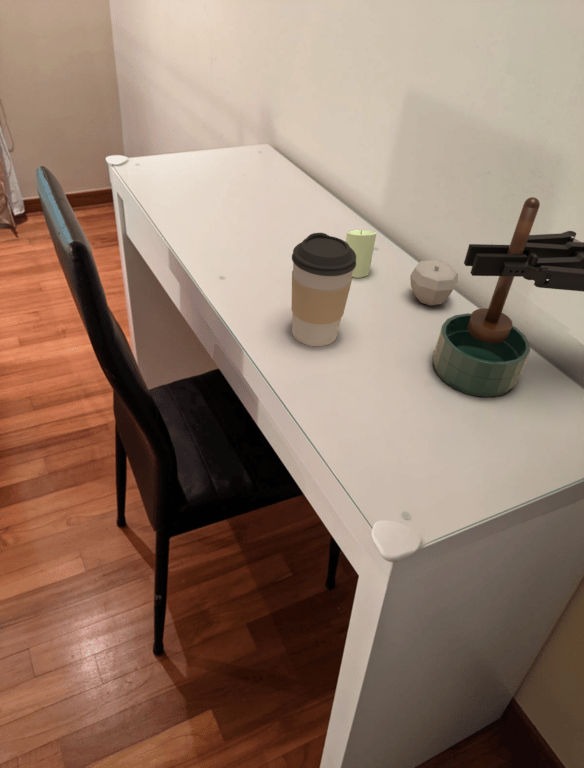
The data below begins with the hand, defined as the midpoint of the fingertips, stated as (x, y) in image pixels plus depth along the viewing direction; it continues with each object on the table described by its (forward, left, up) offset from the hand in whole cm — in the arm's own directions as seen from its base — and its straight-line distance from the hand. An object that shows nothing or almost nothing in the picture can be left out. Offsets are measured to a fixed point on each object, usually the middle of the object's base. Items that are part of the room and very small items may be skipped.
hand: (471, 259), depth 77 cm
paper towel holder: (-1, -5, -11) cm, 12 cm away
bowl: (-1, -5, -18) cm, 19 cm away
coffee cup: (+14, +14, -18) cm, 26 cm away
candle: (+30, -1, -18) cm, 35 cm away
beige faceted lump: (+18, -9, -18) cm, 27 cm away
